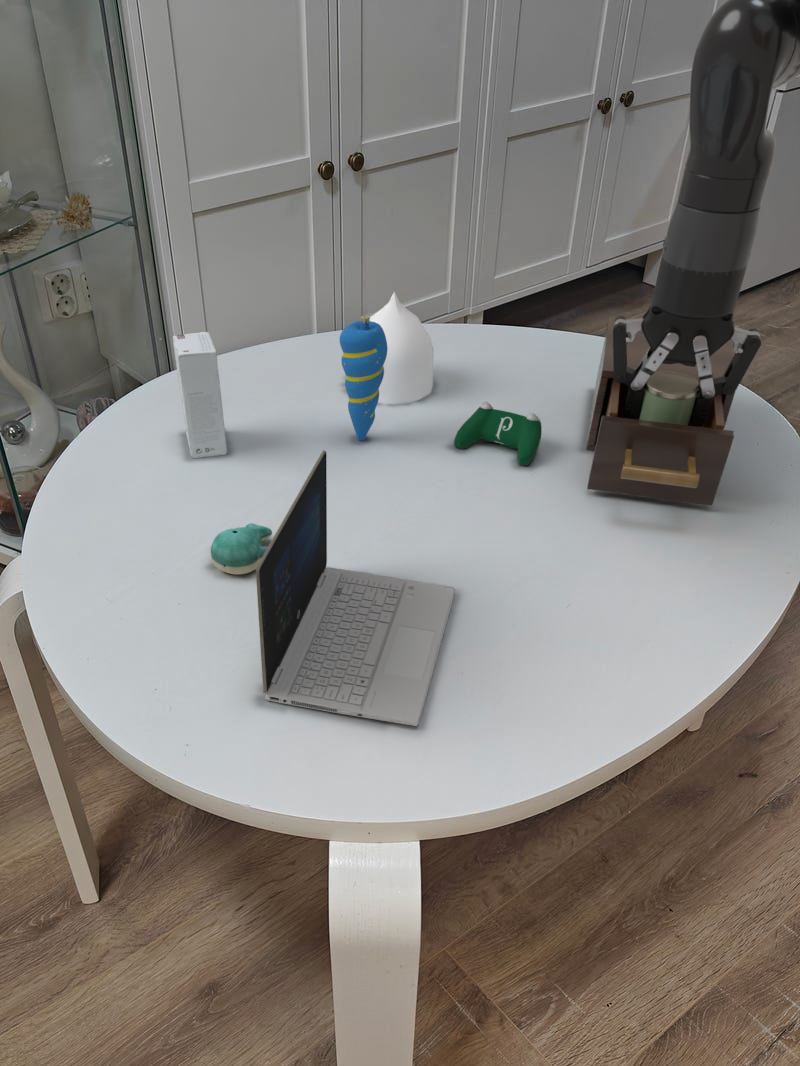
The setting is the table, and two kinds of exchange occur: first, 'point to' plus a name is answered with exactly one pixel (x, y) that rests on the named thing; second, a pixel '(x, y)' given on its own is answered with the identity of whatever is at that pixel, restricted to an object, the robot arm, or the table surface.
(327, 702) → the laptop
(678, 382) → the tin
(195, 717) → the table surface
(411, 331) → the teardrop
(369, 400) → the ornament
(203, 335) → the cosmetic box
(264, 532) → the whale figurine
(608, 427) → the drawer
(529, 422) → the gaming controller
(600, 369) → the cabinet
